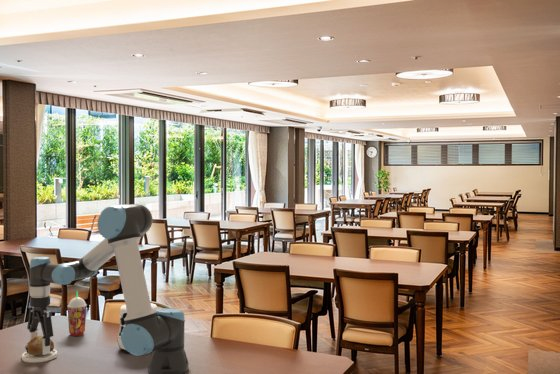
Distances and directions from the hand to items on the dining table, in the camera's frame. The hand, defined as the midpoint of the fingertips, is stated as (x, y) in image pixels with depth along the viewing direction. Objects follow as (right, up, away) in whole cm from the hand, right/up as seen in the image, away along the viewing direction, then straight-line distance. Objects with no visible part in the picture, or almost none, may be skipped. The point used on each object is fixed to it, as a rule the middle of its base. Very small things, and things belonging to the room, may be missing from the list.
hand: (39, 350), depth 224 cm
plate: (0, -3, 0) cm, 3 cm away
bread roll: (0, -1, 0) cm, 1 cm away
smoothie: (+3, -2, +32) cm, 32 cm away
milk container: (+36, -3, +13) cm, 39 cm away
